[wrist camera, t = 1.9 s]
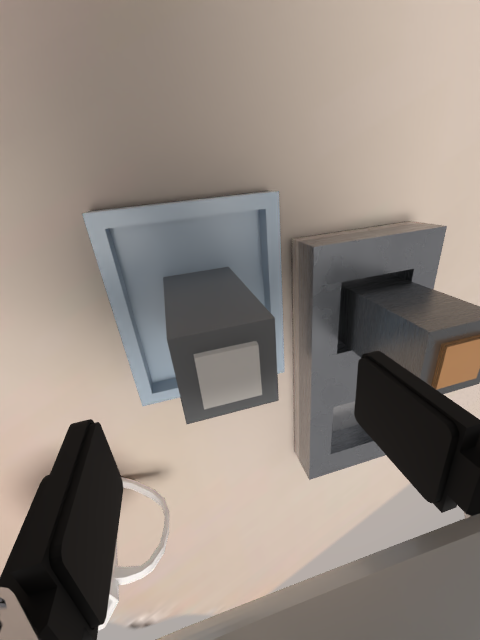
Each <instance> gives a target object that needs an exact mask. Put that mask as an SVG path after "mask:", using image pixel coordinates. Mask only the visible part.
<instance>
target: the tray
mask: <svg viewBox="0 0 480 640" xmlns="http://www.w3.org/2000/svg"><path fill="white" fill-rule="evenodd" d="M82 215H83V219H84V222H85V225H86V228H87V231H88V234H89V238H90V241H91V244H92V247H93V250H94V253H95V257H96V260H97V263H98V266H99V269H100V272H101V276H102V279H103V282H104V285H105V288H106V292H107V295H108V298H109V301H110V304H111V307H112V311H113V314H114V317H115V320H116V323H117V326H118V330H119V333H120V336H121V339H122V342H123V346H124V349H125V352H126V355H127V358H128V361H129V365H130V368H131V371H132V374H133V377H134V380H135V384H136V387H137V390H138V393H139V396H140V399H141V403H142V406H146V405H150V404H154V403H158V402H162V401H167V400H171V399H175V398H179V397H180V394H179V389H178V385H177V381H176V377H175V372H174V368H173V364H172V360H171V355H170V351H169V347H168V343H167V335H166V318H165V301H164V284H163V277H168V276H174V275H180V274H186V273H192V272H199V271H205V270H211V269H217V268H223V267H229V268H230V269H231V270H232V271H233V272H234V273H235V274H236V275H237V277H238V278H239V279H240V280H241V281H242V282H243V283H244V284H245V285H246V287H247V288H248V289H249V290H250V291H251V292H252V293H253V294H254V295H255V296H256V298H257V299H258V300H259V301H260V302H261V303H262V304H263V305H264V306H265V307H266V309H267V310H268V311H269V312H270V313H271V314H272V315H273V316H274V317H275V331H276V354H277V374H278V373H283V372H284V339H283V306H282V274H281V241H280V208H279V191H263V192H254V193H246V194H237V195H228V196H219V197H210V198H201V199H192V200H184V201H175V202H166V203H157V204H148V205H139V206H130V207H122V208H113V209H104V210H95V211H89V212H86V213H83V214H82Z"/></svg>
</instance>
